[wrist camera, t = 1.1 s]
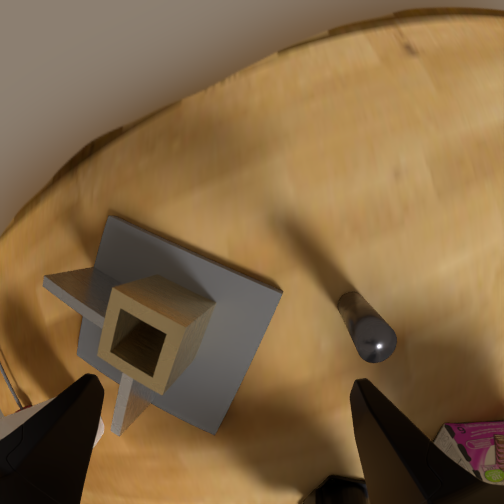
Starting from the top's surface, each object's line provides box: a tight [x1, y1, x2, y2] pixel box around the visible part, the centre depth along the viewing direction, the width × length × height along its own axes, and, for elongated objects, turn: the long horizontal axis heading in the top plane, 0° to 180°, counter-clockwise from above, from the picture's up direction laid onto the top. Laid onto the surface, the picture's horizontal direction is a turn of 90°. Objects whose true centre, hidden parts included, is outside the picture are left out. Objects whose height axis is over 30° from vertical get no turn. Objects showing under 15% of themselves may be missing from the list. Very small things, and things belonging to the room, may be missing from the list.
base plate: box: [77, 216, 283, 435], centre depth 23 cm, size 15×14×1 cm
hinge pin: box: [338, 292, 397, 363], centre depth 17 cm, size 2×2×8 cm
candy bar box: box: [433, 420, 504, 485], centre depth 11 cm, size 11×5×16 cm, turn 78°
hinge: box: [43, 267, 216, 436], centre depth 19 cm, size 11×11×6 cm
